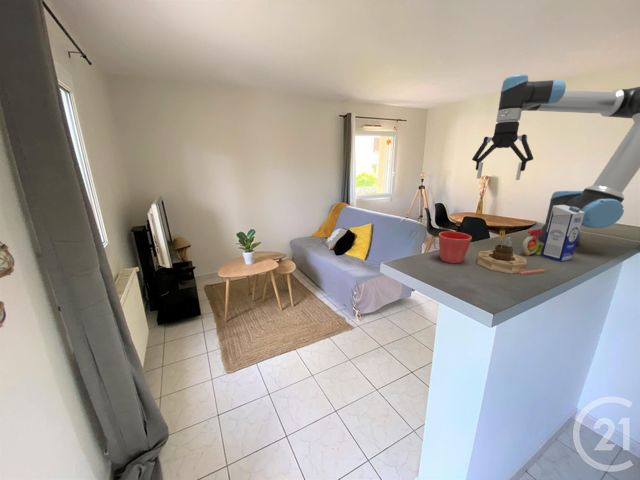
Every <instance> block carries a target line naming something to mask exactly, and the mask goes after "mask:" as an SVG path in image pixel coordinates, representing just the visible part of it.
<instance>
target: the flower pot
mask: <svg viewBox="0 0 640 480" xmlns="http://www.w3.org/2000/svg"><path fill="white" fill-rule="evenodd" d="M472 237H473V236H472V235H470V234H468V233H464V232H459V231H449V230H448V231H441V232H439V233H438V247H439V256H440V260H441V261H444V262H446V263H451V264H459V263H463V262H464V258H465V256H466V254H467V252H468V249H469V248H470V244H471V242H472V240H473V238H472Z"/></svg>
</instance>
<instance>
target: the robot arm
mask: <svg viewBox="0 0 640 480" xmlns="http://www.w3.org/2000/svg"><path fill="white" fill-rule="evenodd" d="M566 88H567V85H566V82H565V81H564V80H561V79H560V80H558V79H557V80H556V79H552V80H537V81H529V76H528V74H522V73H521V74H514V75H510V76H508V77H506V78H505V79H504V80H503V82H502V86H501V90H500V97H499V103H498V109H497V110H498V111H497V115H496V121H495V122H497V123H496V124H495V126H494V133H493V136H492V137H491V136H490V137H489V136H484V138H483V141H482V143H481V144H480V146H479V147H478V149H477V151H476V153H474V155H473V156H472V158H471V160H472V161H473V162H476V165H475V170H476V171H477V175H476V179H481V178H482V172H483V166H484V162H483V161H484V159H486V157H488V156H489V155H490V154H491V153H493V151H494V150H495V149H504V148H505V149H508V148H510V149H511V150H512V151H513V152H514V154H515V155H516V156H517V157H518V159H519V160H520V161H519V162H518V166H517V171H516V175H515V176H516V177H515V181H519V180H520V179H521V175H522V172H525V170H526V166H527V162H530V161H533V160H534V156H533V154H532V150H531V149H530V146H529V143H528V135H527V134H525V133H524V134H521V135H518V132H519V126H520V122H519V121H520V120H521V117H522V112H523V111H528V112H531V111H533V112H538V111H539V112H553V113H554V112H555V113H557V112H558V113H559V112H560V113H578V114H579V113H581V114H583V113H584V114H600V115H601V116H602V117H606V118H607V117H609V118H622V119H623V118H624V119H632V121H633V124H632V125H631V127H630V129H629V131H628V132H627V133H626V135H625V136H624V138H623V139H622V141H620V143H619V145H618V147H617V148H616V150H615V151H614V153H613V154H612V156H611V157H610V158H609V160H608V161H607V162H606V165H605V166H604V168H603V169H602V171H601V172H600V174H599V176H598V177H597V178H596V180H595V181H594V183H593V184H592V185H591V186H588V187H585V188H584V189H583V190H558V191H554V192H553V193H552V195H551V198H550V202H549V206H548V210H547V215H546V219H545V223H544V225H543V226H542V227H541V228H540V229H541V232H543V234H542V235H540V236H538V237H537V238H538V240H539V242H542V243H544V240H545V236H546V232H547V228H548V224H549V220H550V216H551V212H552V208H553V206H557V205H566V206H570V207H571V206H574V207H577V208H580V211H583V212H585V213H584V217H583V220H582V224H581V227H582V226H583V227H585V228H591V229H604V228H609V227H611V226H613V225H614V224H616V223H617V222H618V221H619V220H620V219H621V218H622V217H623V215H624V211H625V210H624V209H623V208H624V205H623V204H622V203H623V201H624V200H625V197H624V194H623V192H624V191H625V190H626V188H627V187H628V185H629V184H630V182H631V181H632V180H633V178H634V177H635V176H636V174H637V172H638V171H639V170H640V86H636V87H630V88H620V89H619V88H617V89H614V90H612V91H593V90H592V91H588V90H587V91H586V90H566ZM518 140H519V142H521V144H522V147H523V150H524V152H525V155H526V156H525V155H524V154H523V153H522V151H521V150H520V149H519V147H518V146H517V145H516V144H515V143H516V142H517V141H518ZM490 142H492V145H490V147H488V149H487V150H486V151H484V150H485V149H486V147H487V146H488V144H489V143H490ZM482 153H483V154H482ZM581 242H582V235H581V230H580V231H579V234H578V238H577V241H576V245H575V247H579V246H580V245H581Z"/></svg>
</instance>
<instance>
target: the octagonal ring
mask: <svg viewBox="0 0 640 480" xmlns="http://www.w3.org/2000/svg"><path fill="white" fill-rule="evenodd" d="M493 251H494V250H493V249H492V250H481V251H478V252H479V253H478V257H477V265H479V266H480V267H484V268H485V269H488V270H489V271H494V272H501V273H507V274H519V272H524V271H527V266H528V262H527V258H525V257H523V256H520V255H517V254H514V253H513V258H512V261H501V260H496V259H493V258H492V255H493Z"/></svg>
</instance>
